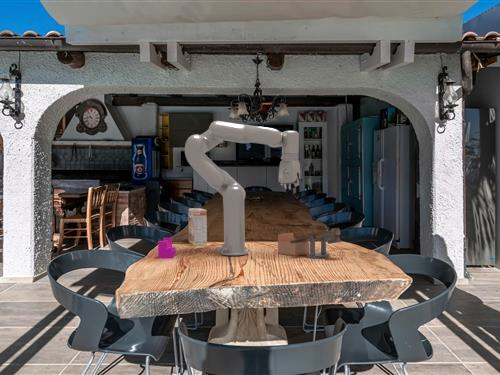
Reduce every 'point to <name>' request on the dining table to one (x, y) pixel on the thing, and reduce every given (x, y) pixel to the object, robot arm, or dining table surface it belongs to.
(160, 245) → the toy block
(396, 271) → the dining table surface
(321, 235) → the lever
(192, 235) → the coffeecake box
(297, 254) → the cup
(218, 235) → the dining table surface
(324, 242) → the stand
